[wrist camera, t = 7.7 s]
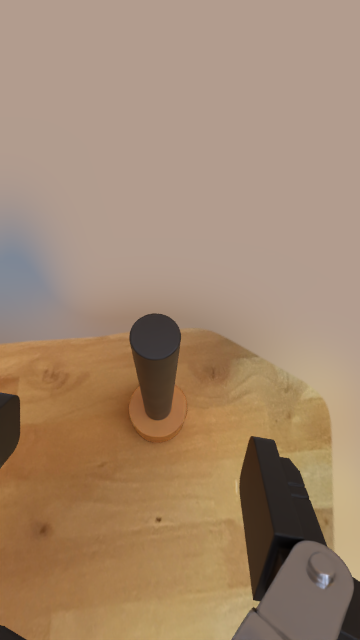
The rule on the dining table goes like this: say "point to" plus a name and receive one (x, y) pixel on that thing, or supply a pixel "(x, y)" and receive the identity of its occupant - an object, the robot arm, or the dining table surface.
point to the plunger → (156, 379)
